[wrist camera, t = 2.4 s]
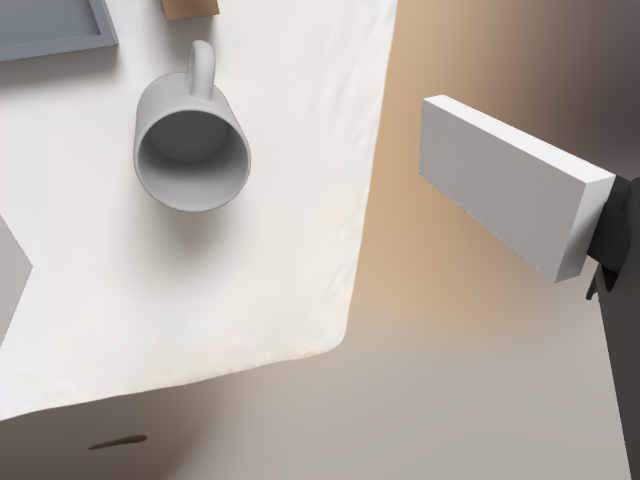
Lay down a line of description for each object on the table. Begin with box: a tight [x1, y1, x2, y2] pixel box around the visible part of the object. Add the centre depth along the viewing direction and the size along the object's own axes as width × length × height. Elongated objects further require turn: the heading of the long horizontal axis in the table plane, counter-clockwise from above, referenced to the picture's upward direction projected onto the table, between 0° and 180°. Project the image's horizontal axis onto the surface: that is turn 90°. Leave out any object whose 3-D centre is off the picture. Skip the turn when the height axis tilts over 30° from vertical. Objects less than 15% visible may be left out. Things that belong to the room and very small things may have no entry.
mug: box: [133, 40, 251, 212], centre depth 34 cm, size 12×8×11 cm
